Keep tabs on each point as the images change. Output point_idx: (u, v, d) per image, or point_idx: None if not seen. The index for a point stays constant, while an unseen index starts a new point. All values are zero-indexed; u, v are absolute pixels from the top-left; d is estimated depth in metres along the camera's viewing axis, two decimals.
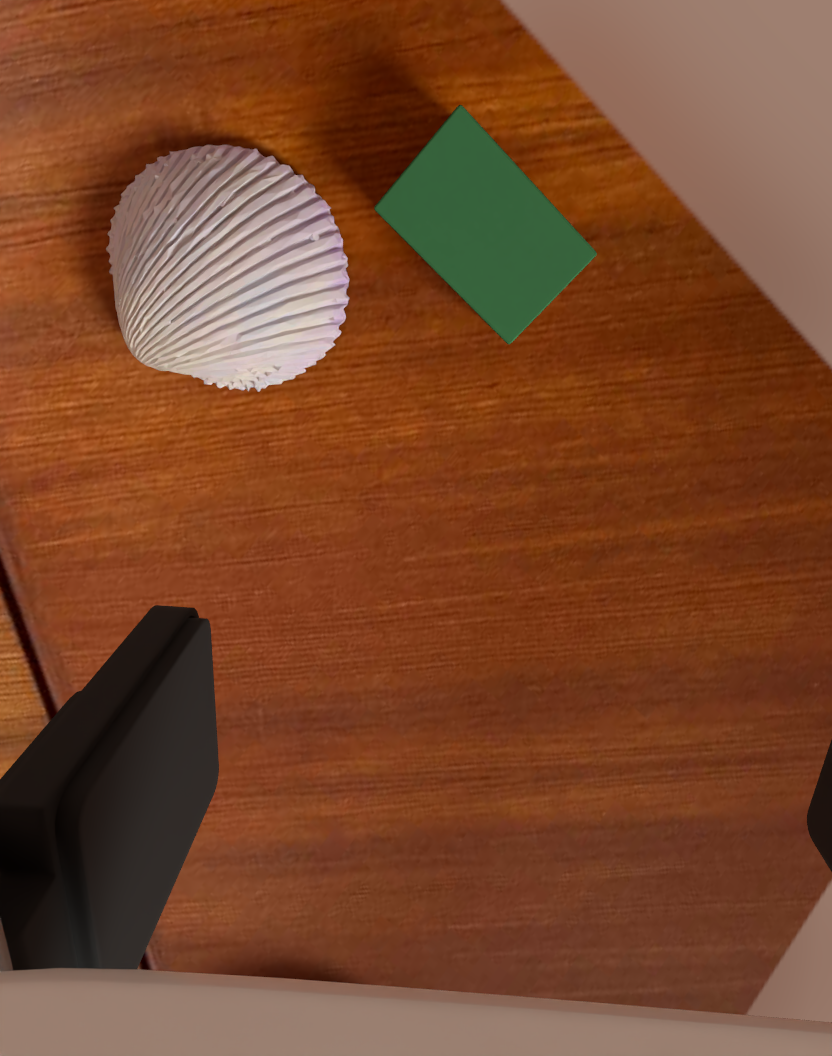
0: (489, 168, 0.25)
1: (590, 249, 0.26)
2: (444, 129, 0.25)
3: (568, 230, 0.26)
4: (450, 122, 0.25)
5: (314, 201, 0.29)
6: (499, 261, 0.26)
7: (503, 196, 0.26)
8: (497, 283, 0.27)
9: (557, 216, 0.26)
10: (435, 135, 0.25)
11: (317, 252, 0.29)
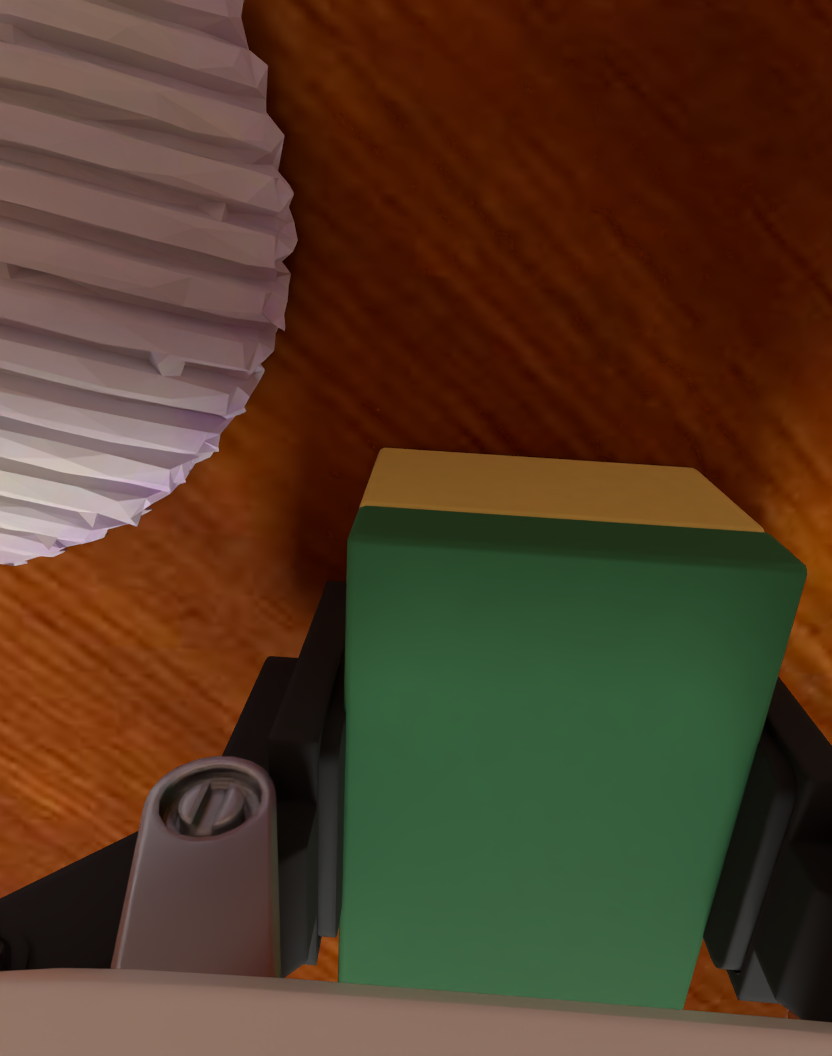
0: (692, 746, 0.08)
1: None
2: (711, 576, 0.07)
3: (678, 978, 0.09)
4: (741, 577, 0.07)
5: (261, 277, 0.09)
6: (492, 900, 0.09)
7: (648, 816, 0.08)
8: (441, 926, 0.09)
9: (692, 941, 0.09)
10: (677, 563, 0.07)
11: None
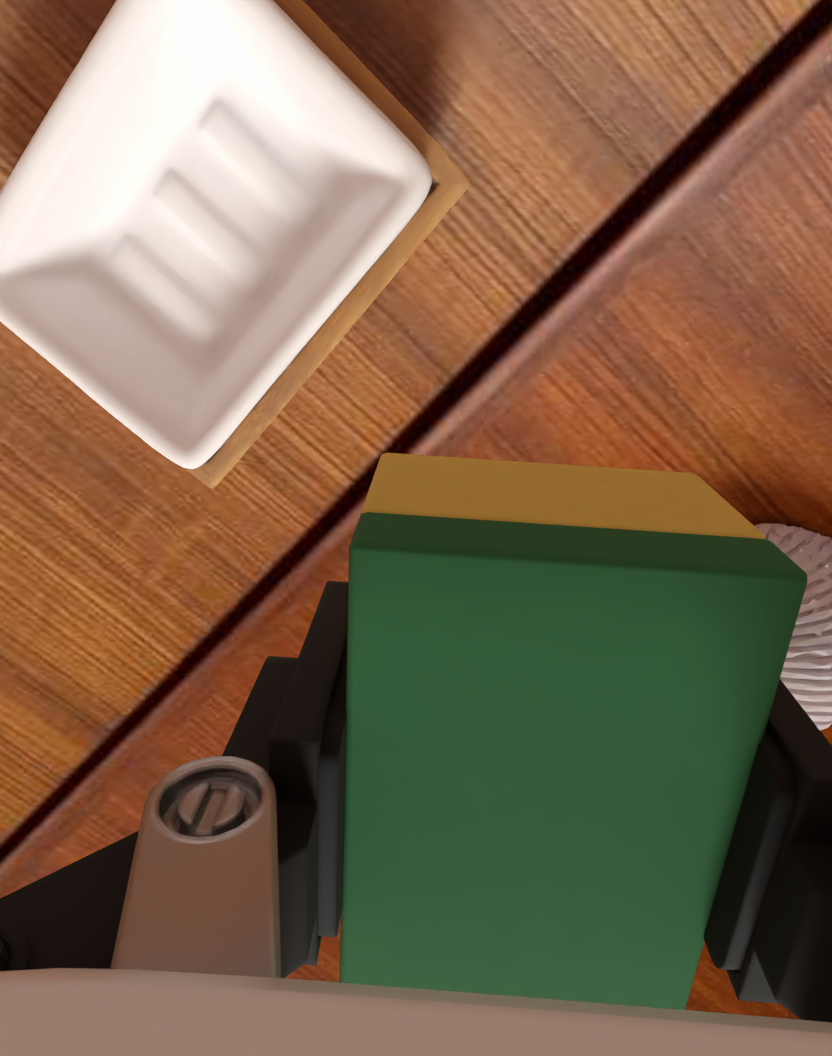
0: (692, 751, 0.08)
1: None
2: (712, 583, 0.07)
3: (679, 982, 0.09)
4: (742, 584, 0.07)
5: None
6: (493, 904, 0.09)
7: (649, 822, 0.08)
8: (442, 930, 0.09)
9: (692, 946, 0.09)
10: (678, 570, 0.07)
11: None
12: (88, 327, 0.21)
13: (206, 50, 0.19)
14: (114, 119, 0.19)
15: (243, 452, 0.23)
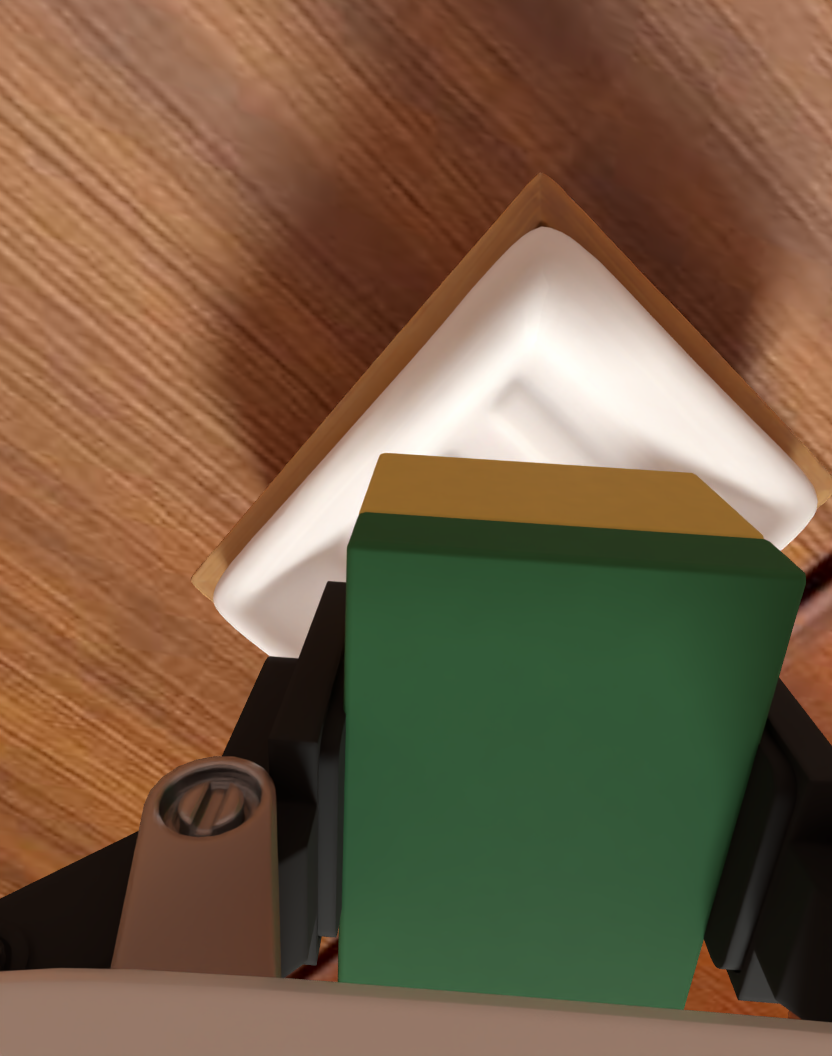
0: (691, 752, 0.08)
1: None
2: (710, 583, 0.07)
3: (677, 983, 0.09)
4: (740, 584, 0.07)
5: None
6: (492, 905, 0.09)
7: (647, 822, 0.08)
8: (440, 931, 0.09)
9: (691, 947, 0.09)
10: (677, 571, 0.07)
11: None
12: None
13: (520, 337, 0.16)
14: (414, 426, 0.16)
15: None
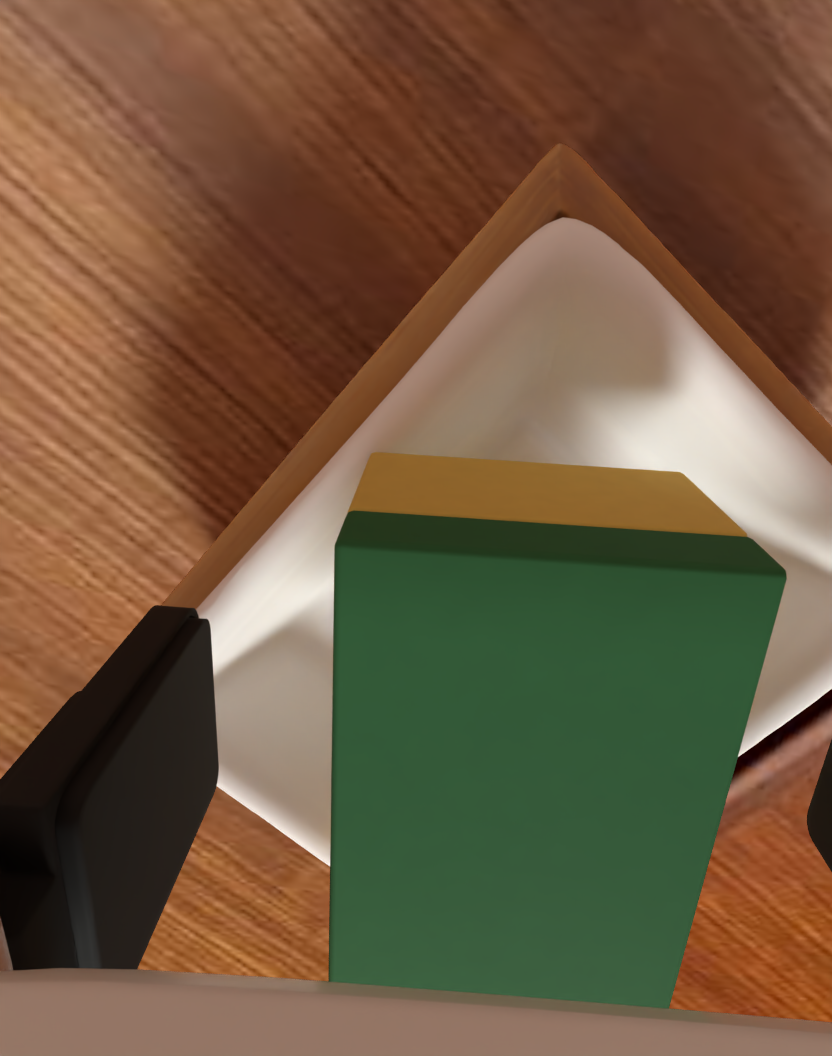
0: (675, 747, 0.08)
1: None
2: (692, 580, 0.07)
3: (664, 976, 0.09)
4: (722, 581, 0.07)
5: None
6: (480, 899, 0.09)
7: (633, 816, 0.08)
8: (429, 925, 0.09)
9: (677, 940, 0.09)
10: (659, 568, 0.07)
11: None
12: (305, 739, 0.14)
13: (530, 366, 0.12)
14: None
15: None
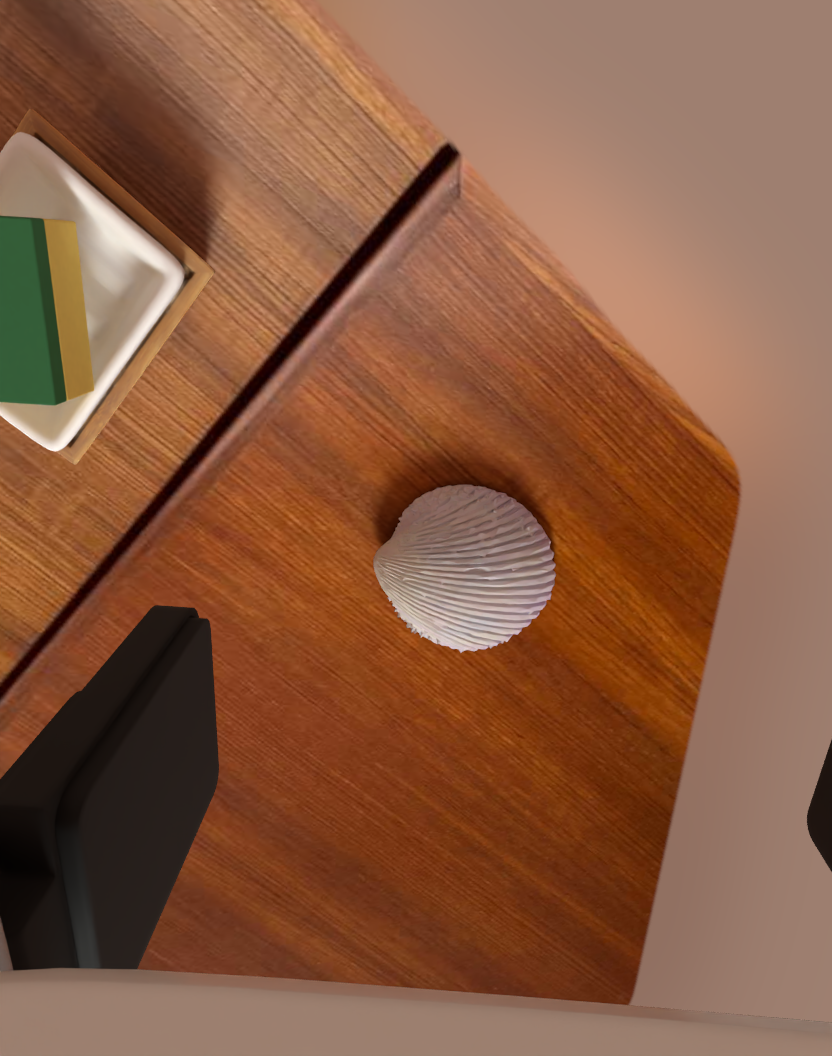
0: (19, 278, 0.27)
1: (52, 398, 0.29)
2: (5, 220, 0.27)
3: (46, 371, 0.29)
4: (14, 221, 0.27)
5: None
6: None
7: (16, 305, 0.28)
8: None
9: (45, 355, 0.28)
10: None
11: None
12: None
13: (50, 194, 0.31)
14: None
15: (92, 440, 0.35)
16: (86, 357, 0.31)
